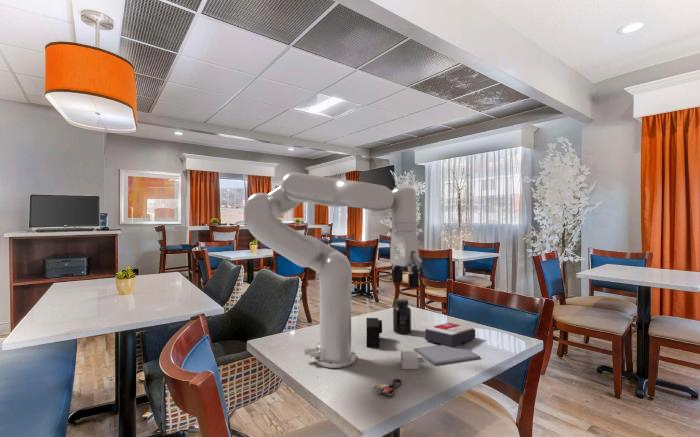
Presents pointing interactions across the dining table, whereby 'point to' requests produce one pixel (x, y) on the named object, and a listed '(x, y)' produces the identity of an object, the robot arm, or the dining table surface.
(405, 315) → the supplement bottle
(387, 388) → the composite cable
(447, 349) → the desk pad
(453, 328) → the grey product box
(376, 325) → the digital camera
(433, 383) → the dining table surface
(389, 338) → the dining table surface
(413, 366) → the usb wall charger
